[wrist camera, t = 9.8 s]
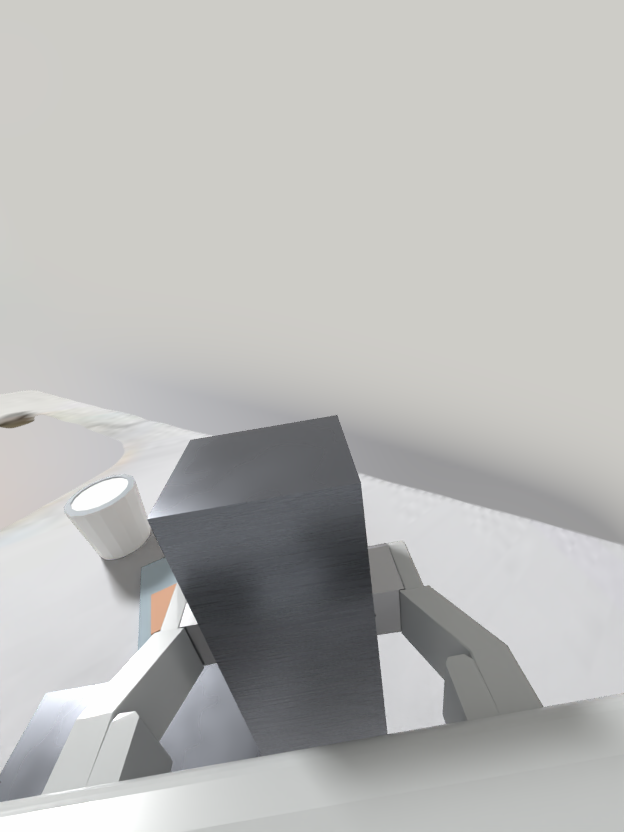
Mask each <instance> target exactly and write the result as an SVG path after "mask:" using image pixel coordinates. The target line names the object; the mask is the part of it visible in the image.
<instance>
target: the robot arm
mask: <svg viewBox="0 0 624 832" xmlns="http://www.w3.org/2000/svg"><path fill="white" fill-rule="evenodd" d="M368 556H369V565H370V575H371V584H372V594H373V603H374V612H375V622H376V631H377V635H381V634H388V633H395V632H402V634H403V635H404V636H405V637H406V638H407V639H408V641H409V642H410V643H411V644H412V645H413V646H414V647H415V648H416V649H417V650H418V652H419V653H420V654H421V655H422V656H423V657H424V658H425V659H426V660H427V661H428V662H429V664H430V665H431V666H432V667H433V668H434V669H435V670H436V671H437V672H438V673H439V675H440V676H441V677H442V678H443V679H444V680H445V682H444V699H443V717H444V720H445V723H446V724H444V725H438V726H432V727H427V728H421V729H415V730H409V731H404V732H398V733H392V734H387V735H381V736H375V737H369V738H364V739H358V740H352V741H347V742H341V743H335V744H329V745H324V746H318V747H312V748H307V749H301V750H295V751H289V752H284V753H278V754H272V755H267V756H261V757H255V758H249V759H244V760H238V761H232V762H227V763H221V764H215V765H210V766H204V767H198V768H192V769H187V770H181V771H175V772H171V768H172V763H173V761H172V759H171V757H170V755H169V754H168V753H167V751H166V750H165V749H164V747H163V746H162V745H161V744H160V742H159V741H160V740H161V738H162V736H163V735H164V733H165V731H166V730H167V728H168V726H169V725H170V723H171V721H172V720H173V718H174V717H175V715H176V713H177V712H178V710H179V708H180V707H181V705H182V703H183V702H184V700H185V699H186V697H187V695H188V694H189V692H190V690H191V689H192V687H193V685H194V684H195V682H196V681H197V679H198V677H199V676H200V674H201V672H202V671H203V669H204V666H205V665H210V664H215V663H216V660H215V658H214V656H213V654H212V652H211V650H210V648H209V646H208V644H207V642H206V640H205V638H204V636H203V634H202V632H201V630H200V628H199V625H198V623H197V621H196V619H195V617H194V615H193V613H192V611H191V609H190V607H189V605H188V603H187V601H186V599H185V597H184V595H183V593H182V591H181V588H180V586H179V584H178V582H177V584H176V587H175V589H174V592H173V595H172V598H171V601H170V604H169V607H168V610H167V612H166V615H165V618H164V621H163V624H162V627H161V630H160V632H155V633H154V634H153V635H152V636H151V637H150V638H149V640H148V641H147V642H146V643H145V644H144V645H143V646H142V647H141V648H140V650H139V651H138V652H137V653H136V654H135V655H134V656H133V657H132V658H131V659H130V661H129V662H128V663H127V664H126V665H125V666H124V667H123V668H122V669H121V671H120V672H119V673H118V674H117V675H116V676H115V677H114V678H113V679H112V680H111V682H110V683H109V684H108V685H107V686H106V687H105V688H104V689H103V690H102V692H101V693H100V694H99V695H98V696H97V697H96V698H95V699H94V700H93V701H92V703H91V704H90V705H89V706H88V707H87V708H86V709H85V710H84V711H83V713H82V714H81V715H80V716H79V717H78V718H77V719H76V721H75V723H74V726H73V728H72V730H71V732H70V734H69V736H68V738H67V741H66V743H65V745H64V747H63V749H62V751H61V753H60V756H59V758H58V760H57V762H56V764H55V766H54V769H53V771H52V773H51V775H50V777H49V779H48V781H47V784H46V786H45V788H44V790H43V792H42V794H41V795H38V796H33V797H27V798H21V799H15V800H10V801H4V802H0V832H624V693H621V694H616V695H610V696H604V697H599V698H593V699H587V700H581V701H576V702H570V703H564V704H558V705H553V706H547V707H543V705H542V703H541V702H540V700H539V698H538V697H537V695H536V693H535V692H534V690H533V688H532V687H531V685H530V683H529V681H528V680H527V678H526V676H525V675H524V673H523V671H522V670H521V668H520V666H519V664H518V663H517V661H516V659H515V658H514V656H513V654H512V653H511V651H510V649H509V647H508V646H507V645H506V644H505V643H504V642H502V641H501V640H500V639H498V638H497V637H496V636H494V635H493V634H492V633H490V632H489V631H488V630H486V629H485V628H484V627H483V626H481V625H480V624H479V623H477V622H476V621H475V620H473V619H472V618H471V617H469V616H468V615H467V614H466V613H464V612H463V611H462V610H460V609H459V608H458V607H456V606H455V605H454V604H452V603H451V602H450V601H448V600H447V599H446V598H445V597H443V596H442V595H441V594H439V593H438V592H437V591H435V590H434V589H433V588H431V587H430V586H424V585H423V583H422V581H421V578H420V576H419V574H418V572H417V569H416V567H415V565H414V563H413V560H412V558H411V556H410V554H409V551H408V549H407V547H406V544H405V543H404V542H403V541H397V542H391V543H387V544H386V543H384V544H379V545H373V546H368Z"/></svg>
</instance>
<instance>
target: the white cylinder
mask: <svg viewBox="0 0 624 832" xmlns="http://www.w3.org/2000/svg"><path fill="white" fill-rule="evenodd" d="M64 511H65V514H66V515H67V516H68V518H69V519H70V520H71V521H72V523H73V524H74V525H75V526H76V528H77V529H78V530H79V531H80V532H81V534H82V535H83V536H84V537H85V539H86V540H87V541H88V542H89V543H90V545H91V546H92V547H93V548H94V550H95V551H96V552H97V553H98V555H99V556H100V557H102V558H103V559H105V560H115V559H118V558H121V557H125V556H127V555H129V554H130V553H132V552H134V551H136V550H137V549H138V548H139V547H140V546H142V545H143V544H144V543H145V542H146V540H147V539H148V538H149V536H150V533H151V527H150V525H149V523H148V521H147V515H146V512H145V509H144V506H143V503H142V500H141V497H140V494H139V491H138V488H137V485H136V482H135V480H134V478H133V476H130V475H126V474H123V475H114V476H110V477H106V478H103V479H101V480H98V481H96V482H94V483H91V484H89V485H88V486H86V487H84V488H83V489H81V490H79V491H78V492H77V493H76V494H74V495H73V496H72V497H71V498H70V499H69V500H68V502H67V503H66V505H65V506H64Z"/></svg>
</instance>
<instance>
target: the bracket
mask: <svg viewBox="0 0 624 832" xmlns="http://www.w3.org/2000/svg"><path fill="white" fill-rule="evenodd" d="M147 521H148V523H149V525H150V527H151V529H152V531H153V533H154V535H155V537H156V539H157V541H158V543H159V545H160V547H161V549H162V551H163V553H164V556H165V558H166V560H167V562H168V564H169V566H170V568H171V570H172V572H173V574H174V576H175V578H176V580H177V582H178V584H179V586H180V588H181V591H182V593H183V595H184V597H185V599H186V601H187V603H188V605H189V607H190V609H191V611H192V613H193V615H194V617H195V619H196V621H197V623H198V625H199V628H200V630H201V632H202V634H203V636H204V638H205V640H206V642H207V644H208V646H209V648H210V650H211V652H212V654H213V656H214V658H215V660H216V663H217V664H212V665H207V666H204V669H203V671H202V672H201V674H200V676H199V677H198V679H197V681H196V682H195V684H194V685H193V687H192V689H191V690H190V692H189V694H188V695H187V697H186V699H185V700H184V702H183V703H182V705H181V707H180V708H179V710H178V712H177V713H176V715H175V717H174V718H173V720H172V721H171V723H170V725H169V726H168V728H167V730H166V731H165V733H164V735H163V736H162V738H161V740H160V741H159V742H160V744H161V745H162V746H163V747H164V749H165V750H166V751H167V753H168V754H169V755H170V757H171V759H172V761H173V763H172V768H171V772H175V771H181V770H187V769H192V768H198V767H204V766H210V765H215V764H221V763H227V762H232V761H238V760H244V759H249V758H255V757H261V756H267V755H272V754H278V753H284V752H289V751H295V750H301V749H307V748H312V747H318V746H324V745H329V744H335V743H341V742H347V741H352V740H358V739H364V738H369V737H375V736H381V735H387V726H386V716H385V707H384V697H383V688H382V678H381V669H380V660H379V650H378V641H377V631H376V622H375V612H374V603H373V594H372V584H371V575H370V565H369V556H368V546H367V537H366V528H365V518H364V509H363V499H362V490H361V482H360V479H359V476H358V473H357V471H356V468H355V465H354V462H353V459H352V456H351V454H350V451H349V448H348V445H347V442H346V439H345V436H344V433H343V431H342V428H341V425H340V422H339V419H338V416H337V415H336V416H330V417H324V418H318V419H312V420H306V421H300V422H294V423H289V424H283V425H277V426H271V427H266V428H259V429H253V430H247V431H242V432H236V433H229V434H224V435H218V436H212V437H206V438H200V439H194V440H190V442H189V444H188V446H187V447H186V449H185V451H184V453H183V455H182V456H181V458H180V460H179V462H178V464H177V465H176V467H175V469H174V471H173V473H172V474H171V476H170V478H169V480H168V482H167V484H166V485H165V487H164V489H163V491H162V493H161V494H160V496H159V498H158V500H157V502H156V503H155V505H154V507H153V509H152V511H151V512H150V514H149V516H148V518H147ZM109 683H110V682H108V683H102V684H97V685H91V686H85V687H79V688H73V689H68V690H62V691H56V692H50V693H46V694H45V696H44V697H43V699H42V701H41V703H40V704H39V706H38V708H37V710H36V712H35V713H34V715H33V717H32V719H31V720H30V722H29V724H28V726H27V728H26V729H25V731H24V733H23V735H22V736H21V738H20V740H19V742H18V743H17V745H16V747H15V749H14V751H13V752H12V754H11V756H10V758H9V759H8V761H7V763H6V765H5V767H4V768H3V770H2V772H1V774H0V802H4V801H10V800H15V799H21V798H27V797H33V796H38V795H41V794H42V792H43V790H44V788H45V786H46V784H47V781H48V779H49V777H50V775H51V773H52V771H53V769H54V766H55V764H56V762H57V760H58V758H59V756H60V753H61V751H62V749H63V747H64V745H65V743H66V741H67V738H68V736H69V734H70V732H71V730H72V728H73V726H74V723H75V721H76V719H77V718H78V717H79V716H80V715H81V714H82V713H83V711H84V710H85V709H86V708H87V707H88V706H89V705H90V704H91V703H92V701H93V700H94V699H95V698H96V697H97V696H98V695H99V694H100V693H101V692H102V690H103V689H104V688H105V687H106V686H107V685H108V684H109Z"/></svg>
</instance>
